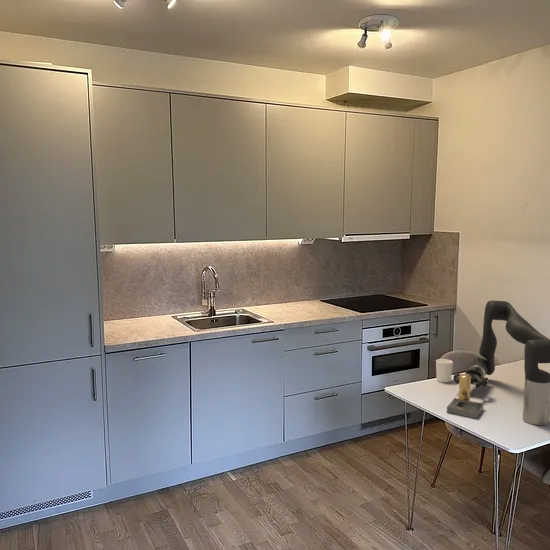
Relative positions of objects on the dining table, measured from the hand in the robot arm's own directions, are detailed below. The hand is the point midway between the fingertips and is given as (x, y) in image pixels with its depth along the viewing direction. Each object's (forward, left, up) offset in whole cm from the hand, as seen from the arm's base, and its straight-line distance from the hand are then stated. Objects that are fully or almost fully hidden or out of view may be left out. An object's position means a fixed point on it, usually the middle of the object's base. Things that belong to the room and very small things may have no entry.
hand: (466, 383), depth 223 cm
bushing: (0, +3, -8) cm, 8 cm away
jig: (-3, +14, -8) cm, 16 cm away
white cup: (+16, -21, -8) cm, 28 cm away
